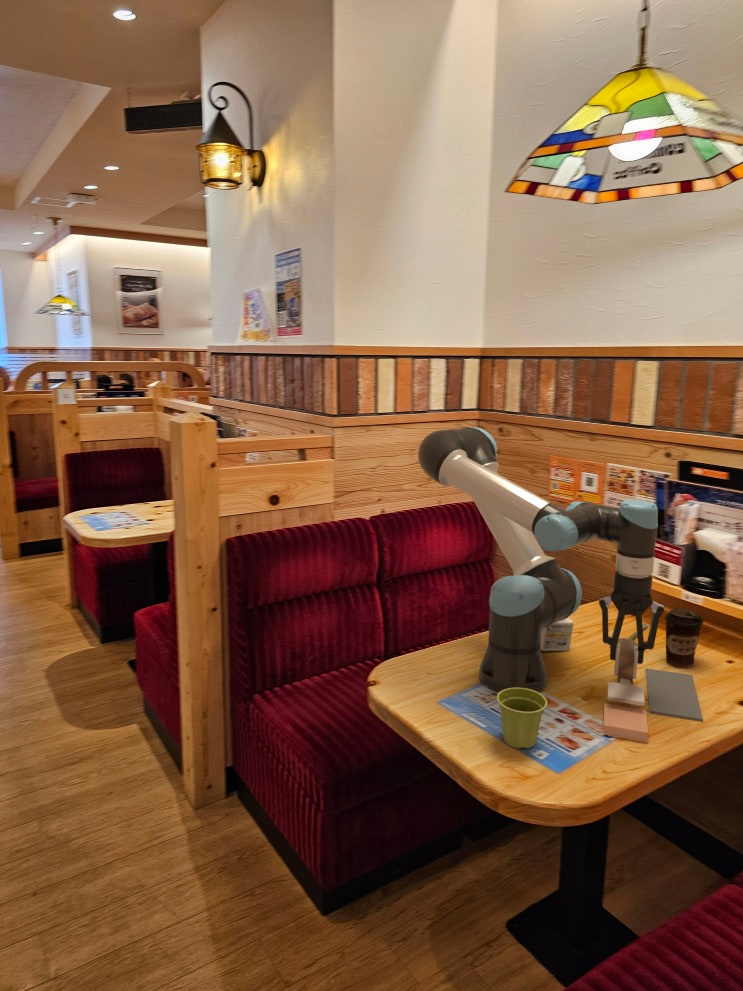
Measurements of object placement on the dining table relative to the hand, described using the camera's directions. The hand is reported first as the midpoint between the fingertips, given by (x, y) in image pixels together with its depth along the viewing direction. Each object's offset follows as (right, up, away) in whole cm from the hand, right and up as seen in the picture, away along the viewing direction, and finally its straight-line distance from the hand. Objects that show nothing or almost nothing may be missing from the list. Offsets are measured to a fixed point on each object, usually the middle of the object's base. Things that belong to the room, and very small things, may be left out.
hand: (624, 674), depth 147 cm
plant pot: (-27, -8, -19) cm, 34 cm away
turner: (-1, -1, -3) cm, 3 cm away
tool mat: (+10, -4, 0) cm, 11 cm away
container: (-10, +1, +24) cm, 26 cm away
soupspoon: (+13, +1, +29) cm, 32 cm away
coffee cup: (+19, -1, +15) cm, 24 cm away
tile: (-4, -5, -10) cm, 12 cm away
